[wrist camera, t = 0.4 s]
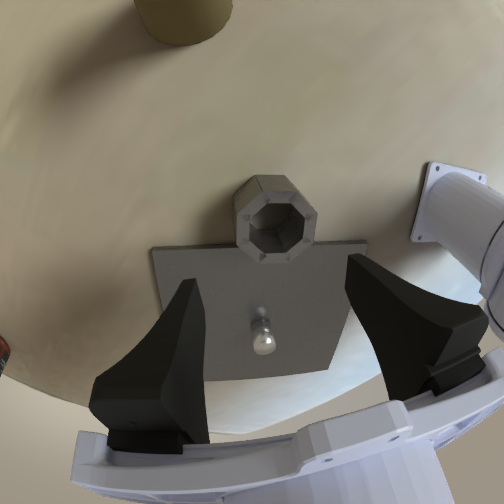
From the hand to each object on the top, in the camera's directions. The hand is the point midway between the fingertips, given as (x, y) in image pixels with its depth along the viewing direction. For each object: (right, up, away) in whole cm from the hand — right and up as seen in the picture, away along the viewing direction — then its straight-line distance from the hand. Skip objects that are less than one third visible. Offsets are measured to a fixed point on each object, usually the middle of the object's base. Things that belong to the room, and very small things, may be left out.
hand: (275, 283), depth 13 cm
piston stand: (0, -6, +14) cm, 15 cm away
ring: (0, +5, +8) cm, 9 cm away
